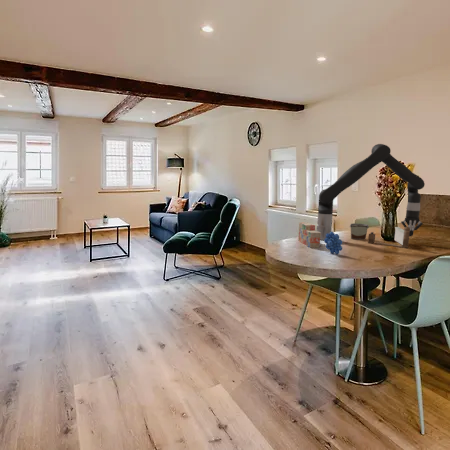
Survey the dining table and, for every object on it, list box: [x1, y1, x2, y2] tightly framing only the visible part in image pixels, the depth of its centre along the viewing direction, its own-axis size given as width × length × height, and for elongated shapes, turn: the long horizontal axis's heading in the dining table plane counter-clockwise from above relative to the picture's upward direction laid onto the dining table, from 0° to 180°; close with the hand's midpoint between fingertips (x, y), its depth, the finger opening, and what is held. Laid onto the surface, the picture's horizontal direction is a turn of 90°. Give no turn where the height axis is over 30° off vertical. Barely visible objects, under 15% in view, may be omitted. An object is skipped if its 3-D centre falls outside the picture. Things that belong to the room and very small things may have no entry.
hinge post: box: [401, 226, 410, 249], centre depth 208 cm, size 3×3×13 cm
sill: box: [374, 241, 403, 248], centre depth 216 cm, size 4×16×1 cm, turn 44°
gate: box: [394, 226, 404, 246], centre depth 219 cm, size 18×2×9 cm, turn 169°
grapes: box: [323, 231, 343, 255], centre depth 188 cm, size 12×7×12 cm, turn 38°
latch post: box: [367, 231, 376, 245], centre depth 220 cm, size 3×3×7 cm
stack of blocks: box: [297, 222, 321, 249], centre depth 212 cm, size 21×6×12 cm, turn 6°
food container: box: [349, 223, 370, 240], centre depth 236 cm, size 12×6×10 cm, turn 84°
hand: (410, 236), depth 223 cm, fingers closed
